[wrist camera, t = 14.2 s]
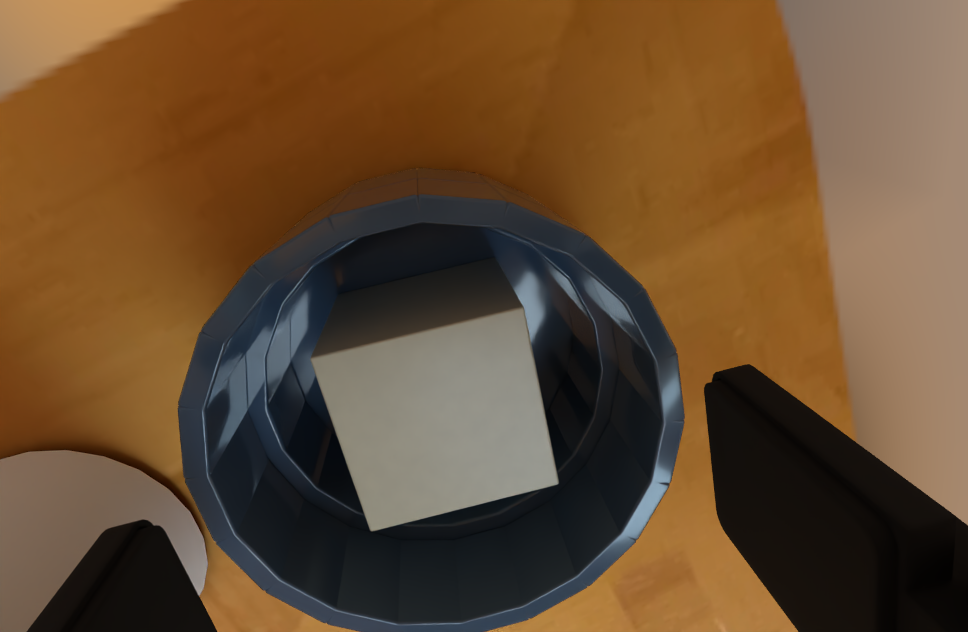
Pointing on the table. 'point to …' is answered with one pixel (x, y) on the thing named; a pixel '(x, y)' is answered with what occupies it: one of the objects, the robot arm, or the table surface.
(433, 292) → the block
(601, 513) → the bowl
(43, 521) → the cup
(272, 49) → the table surface
